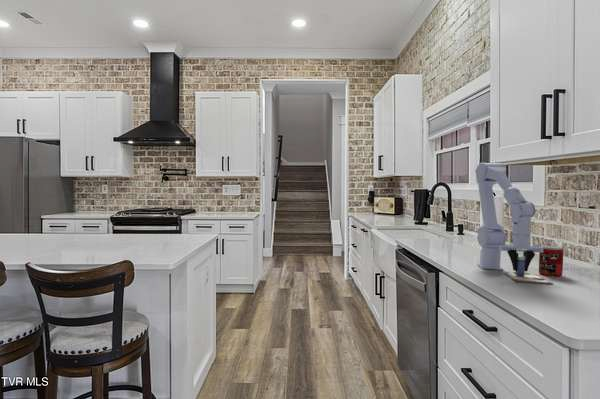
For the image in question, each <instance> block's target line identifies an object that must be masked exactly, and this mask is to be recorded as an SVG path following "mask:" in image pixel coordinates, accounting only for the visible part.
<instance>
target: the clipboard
mask: <svg viewBox="0 0 600 399" xmlns="http://www.w3.org/2000/svg"><path fill="white" fill-rule="evenodd" d="M515 274H516V271H513V272H512V273H511V272H503V275H505V277H508V278H509V279H510V280H512V281H514V282H515V283H521V284H522V283H523V284H537V285H538V284H539V285H554V282H552V281H550V280H548V279H546V278H544V277H543V276H541V275H540V274H531V273H529V272H527V271H525V276H518V275H515Z"/></svg>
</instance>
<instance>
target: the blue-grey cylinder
mask: <svg viewBox="0 0 600 399" xmlns="http://www.w3.org/2000/svg"><path fill="white" fill-rule="evenodd" d="M525 260H526V257H525V256H523V255H518V259H517V271H515V272H516V274H515V275H518V276H525V272H526V271H525Z"/></svg>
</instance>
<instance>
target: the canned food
mask: <svg viewBox="0 0 600 399" xmlns="http://www.w3.org/2000/svg"><path fill="white" fill-rule="evenodd" d="M539 247H543V253H540V252H538V253H539V256H538V257H539V258H538V275H540V276H541V275H542V276H545V277H552V276H553V277H554V278H555V277H556V278H558V277H562V275H563V272H564V271H563V267H564V247H562V246H557V245H547V244H546V245H545V244H543V245H540V246H539ZM553 277H552V278H553Z"/></svg>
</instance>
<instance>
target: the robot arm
mask: <svg viewBox="0 0 600 399" xmlns="http://www.w3.org/2000/svg"><path fill="white" fill-rule="evenodd" d="M506 172H507V168H506V167H505V165H504V164H503V163H501V162H500V163H498V162H497V163H496V162H494V163H492V162H490V163H489V162H480V163H478V165H477V166H476V168H475V178H476V183H477V185H478V193H479V200H480V210H481V216H482V223H483V224H482V225H481V226H479V227H478V228H477V242H478V244H479V245H480V247H481V248H480V252H479V253H480V254H479V263H477V266H478V267H479V268H481V269H483V270H498V271H502V270H503V271H504V268H503V267H501V258H502V257H501V254H502V253H501V252H502V251H506V252H507V254H508V256H509V259H510V261H511V264H512V265H511V266H512V270H513V272H516V271H517V259H518V256H519V253H518V252H522V254H523V255H522V256H525V257H526V260H525V272H528V270H529V267H530V265H531V262H532V260H533V259H534V257H535V256H536V253H539V252H540V253H543V247H540V246H535V245H531V232H532V231H531V229H532V228H531V227H532V218H533V217H534V216H535V215H536V207H535V205H534V203H532V202H531V201H529V200H527V199H526V198H525V197H524V196H523V194H522V193H521V191H520V189H519V188H517V187H513V185H512V183H511V181H510V180H509V177H508V175H507V174H506ZM496 184H497V185H498V186H499V187H500V188H501V190H502V191H503V198H504V199H505V201H506V203H507V204H508V205H509V207H510V209H509V212H510V213H509V214H510V216H511V220H512V221H511V222H513V224H512V243H511V244H506V242H507V235H506V233H505V231H504V227H503V226H502V225H501V224H499V223H498V220H497V218H498V217H497V212H496V204H495V198H494V189H493V186H494V185H496Z"/></svg>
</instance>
